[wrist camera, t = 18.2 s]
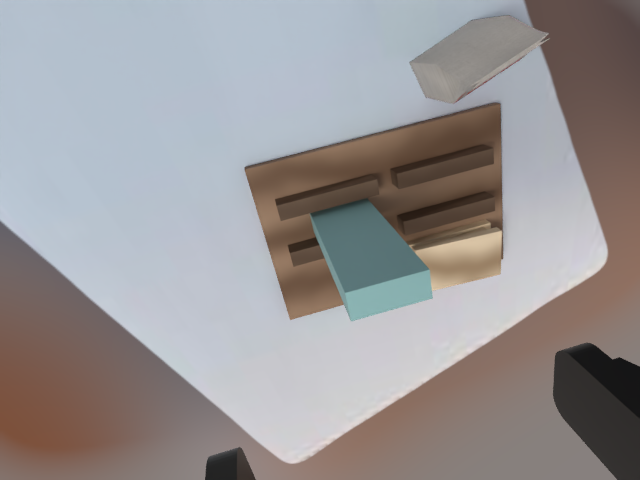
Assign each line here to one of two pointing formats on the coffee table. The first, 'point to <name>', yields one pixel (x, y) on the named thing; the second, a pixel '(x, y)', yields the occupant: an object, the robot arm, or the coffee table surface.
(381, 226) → the teal panel
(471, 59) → the tea bag
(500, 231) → the pine offcuts
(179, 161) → the coffee table surface
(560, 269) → the coffee table surface
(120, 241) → the coffee table surface
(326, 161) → the walnut rack
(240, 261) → the coffee table surface
